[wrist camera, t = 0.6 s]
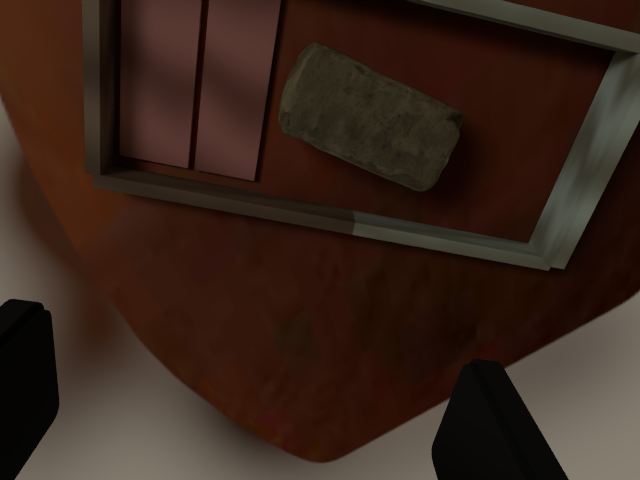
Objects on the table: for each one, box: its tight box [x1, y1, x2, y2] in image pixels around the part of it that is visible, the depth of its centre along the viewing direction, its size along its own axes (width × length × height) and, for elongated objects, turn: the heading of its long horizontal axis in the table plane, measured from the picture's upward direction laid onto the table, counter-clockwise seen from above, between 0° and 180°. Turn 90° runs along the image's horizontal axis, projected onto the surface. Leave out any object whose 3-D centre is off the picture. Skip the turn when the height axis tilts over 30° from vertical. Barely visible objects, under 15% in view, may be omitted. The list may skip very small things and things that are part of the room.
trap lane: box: [82, 0, 640, 271], centre depth 30 cm, size 17×36×4 cm, turn 78°
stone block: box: [278, 42, 464, 192], centre depth 30 cm, size 6×12×5 cm, turn 67°
